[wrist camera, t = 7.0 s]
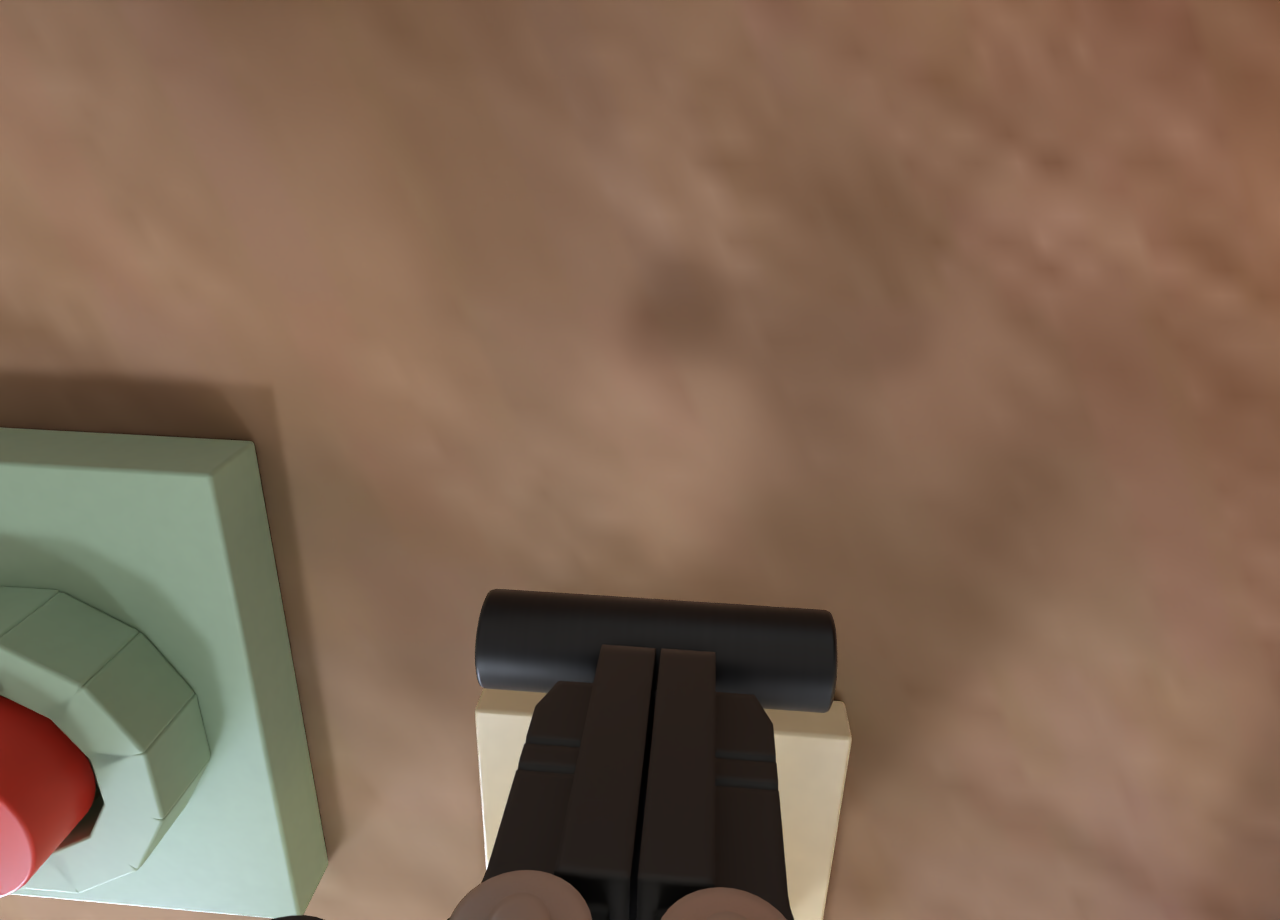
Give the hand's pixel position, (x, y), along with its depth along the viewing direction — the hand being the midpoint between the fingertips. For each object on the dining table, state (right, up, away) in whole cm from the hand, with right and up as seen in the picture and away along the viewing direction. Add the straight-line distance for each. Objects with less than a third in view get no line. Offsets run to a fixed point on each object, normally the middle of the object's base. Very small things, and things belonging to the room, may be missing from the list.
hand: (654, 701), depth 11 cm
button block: (-13, -2, +9) cm, 15 cm away
